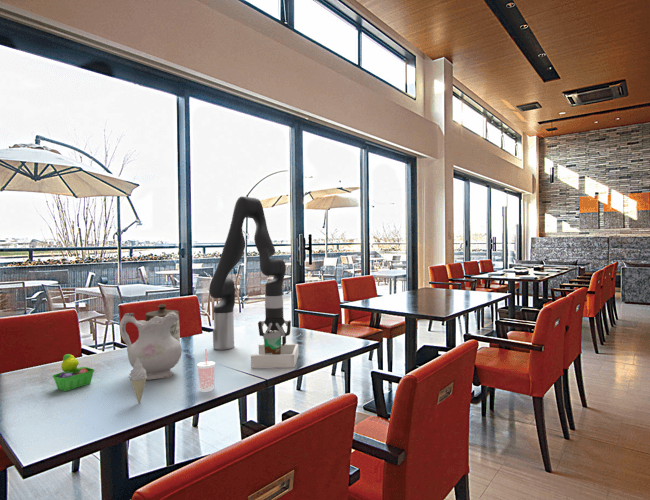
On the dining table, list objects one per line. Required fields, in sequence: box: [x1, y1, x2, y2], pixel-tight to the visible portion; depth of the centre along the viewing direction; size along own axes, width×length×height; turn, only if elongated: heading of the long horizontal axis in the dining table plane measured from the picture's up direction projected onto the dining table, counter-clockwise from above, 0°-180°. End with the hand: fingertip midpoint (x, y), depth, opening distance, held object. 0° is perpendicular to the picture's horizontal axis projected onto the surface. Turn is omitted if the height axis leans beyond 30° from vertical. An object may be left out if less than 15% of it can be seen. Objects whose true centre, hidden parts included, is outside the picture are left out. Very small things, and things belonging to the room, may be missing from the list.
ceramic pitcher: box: [119, 312, 183, 381], centre depth 162 cm, size 22×20×25 cm
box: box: [250, 343, 300, 369], centre depth 178 cm, size 18×18×5 cm
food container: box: [262, 330, 283, 355], centre depth 178 cm, size 12×6×10 cm, turn 168°
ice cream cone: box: [129, 357, 147, 404], centre depth 134 cm, size 5×5×15 cm
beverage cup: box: [196, 348, 216, 393], centre depth 146 cm, size 6×6×14 cm
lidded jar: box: [145, 303, 181, 343], centre depth 199 cm, size 15×15×22 cm
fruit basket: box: [52, 353, 95, 392], centre depth 152 cm, size 11×9×11 cm
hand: (275, 345), depth 178 cm, fingers closed on food container, 6 cm apart
